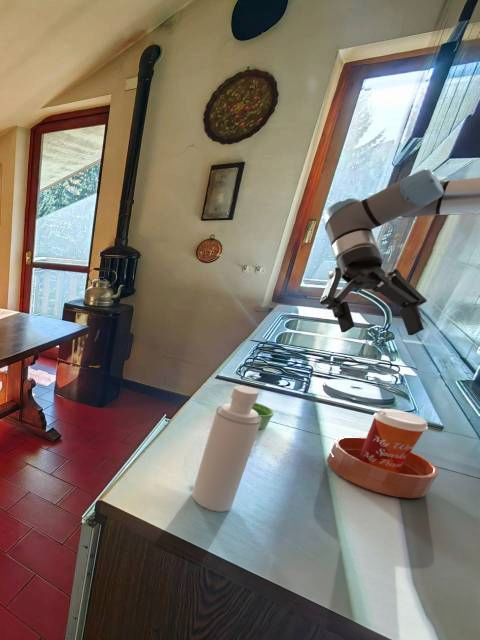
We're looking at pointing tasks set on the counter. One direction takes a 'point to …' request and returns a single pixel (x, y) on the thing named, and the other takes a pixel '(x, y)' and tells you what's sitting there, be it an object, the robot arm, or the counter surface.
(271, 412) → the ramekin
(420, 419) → the paper cup
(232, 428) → the white bottle
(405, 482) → the bowl
